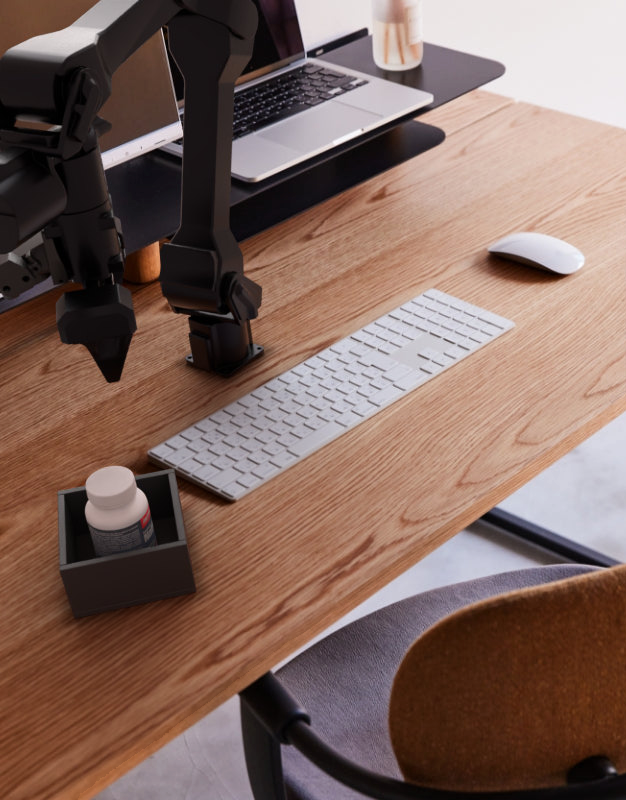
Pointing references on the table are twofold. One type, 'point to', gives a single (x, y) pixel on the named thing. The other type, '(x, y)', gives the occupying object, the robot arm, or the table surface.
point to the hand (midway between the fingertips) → (110, 354)
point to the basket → (131, 571)
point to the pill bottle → (117, 512)
